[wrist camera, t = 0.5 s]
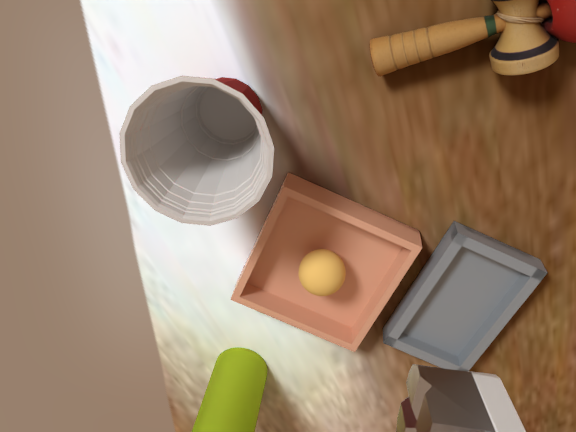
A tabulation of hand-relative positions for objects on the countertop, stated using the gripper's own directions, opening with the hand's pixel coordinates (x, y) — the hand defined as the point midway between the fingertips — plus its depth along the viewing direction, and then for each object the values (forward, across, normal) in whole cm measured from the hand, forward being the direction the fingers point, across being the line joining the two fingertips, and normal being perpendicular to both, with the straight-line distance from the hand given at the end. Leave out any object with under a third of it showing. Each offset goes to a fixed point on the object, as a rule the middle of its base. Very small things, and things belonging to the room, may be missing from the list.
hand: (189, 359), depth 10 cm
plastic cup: (+40, +5, +3) cm, 40 cm away
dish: (+41, -5, +16) cm, 44 cm away
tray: (+40, -19, +18) cm, 48 cm away
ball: (+38, -5, +17) cm, 42 cm away
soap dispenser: (+43, +2, +32) cm, 53 cm away
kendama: (+38, -14, -7) cm, 41 cm away
